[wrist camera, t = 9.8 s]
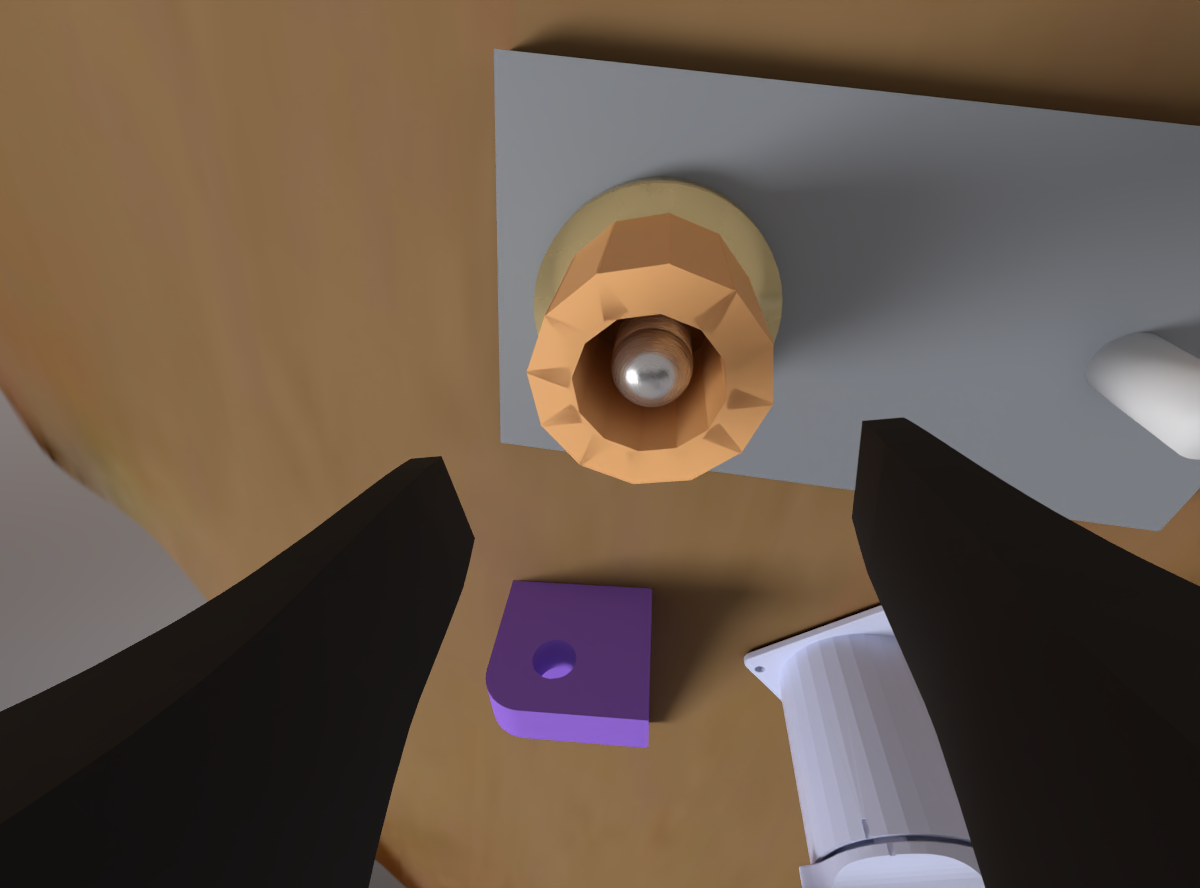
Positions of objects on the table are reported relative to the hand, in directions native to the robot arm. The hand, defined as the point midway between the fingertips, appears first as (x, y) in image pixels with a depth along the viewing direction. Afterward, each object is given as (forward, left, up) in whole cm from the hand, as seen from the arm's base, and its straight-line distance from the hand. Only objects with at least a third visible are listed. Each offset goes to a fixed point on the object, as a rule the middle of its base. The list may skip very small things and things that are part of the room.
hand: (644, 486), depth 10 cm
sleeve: (0, 0, -8) cm, 8 cm away
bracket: (-14, +15, -11) cm, 24 cm away
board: (-5, -5, -10) cm, 13 cm away
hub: (0, 0, -9) cm, 9 cm away
